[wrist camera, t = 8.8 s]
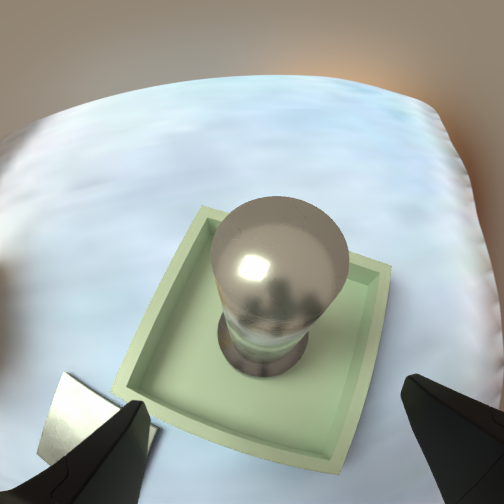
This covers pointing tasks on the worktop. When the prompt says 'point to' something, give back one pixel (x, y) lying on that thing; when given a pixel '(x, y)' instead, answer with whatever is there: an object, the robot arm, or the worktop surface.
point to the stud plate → (76, 419)
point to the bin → (246, 389)
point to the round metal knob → (274, 281)
